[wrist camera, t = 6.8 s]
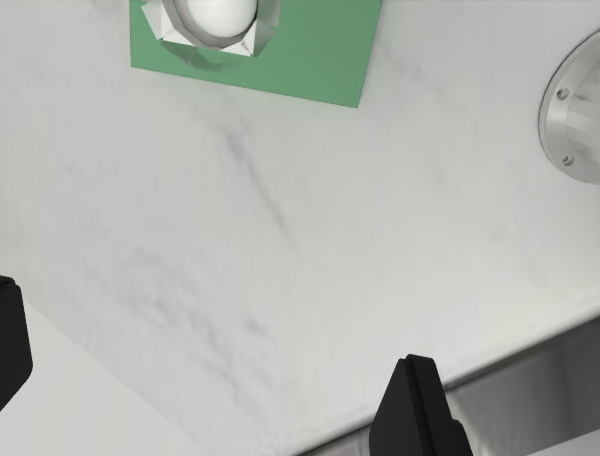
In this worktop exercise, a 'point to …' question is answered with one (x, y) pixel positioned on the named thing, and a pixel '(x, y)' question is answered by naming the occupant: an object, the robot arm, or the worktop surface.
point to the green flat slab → (267, 48)
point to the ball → (222, 15)
